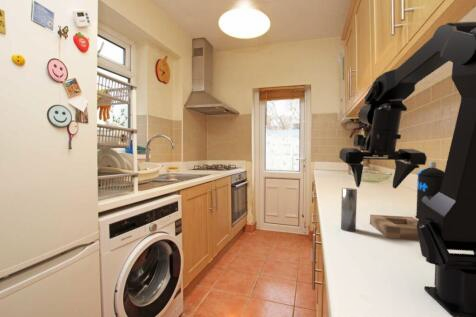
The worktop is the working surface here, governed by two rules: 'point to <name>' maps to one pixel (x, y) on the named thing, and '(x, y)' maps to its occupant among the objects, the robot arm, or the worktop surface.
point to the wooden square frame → (395, 226)
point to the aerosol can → (428, 183)
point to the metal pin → (348, 209)
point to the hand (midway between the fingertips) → (375, 187)
